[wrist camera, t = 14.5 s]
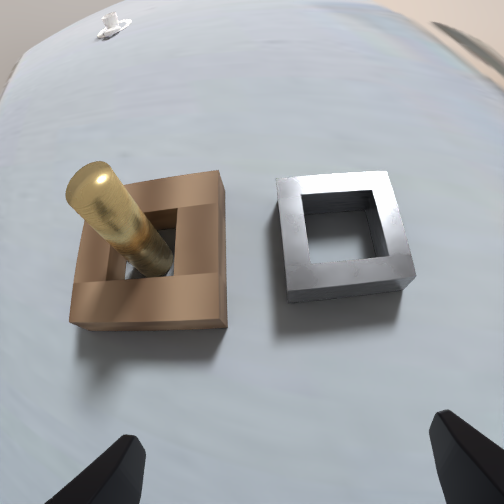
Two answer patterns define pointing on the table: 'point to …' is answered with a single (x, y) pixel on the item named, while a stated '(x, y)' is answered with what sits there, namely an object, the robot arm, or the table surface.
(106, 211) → the brass cylinder
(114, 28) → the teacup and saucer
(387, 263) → the socket block
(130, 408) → the table surface
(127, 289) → the wooden square frame
